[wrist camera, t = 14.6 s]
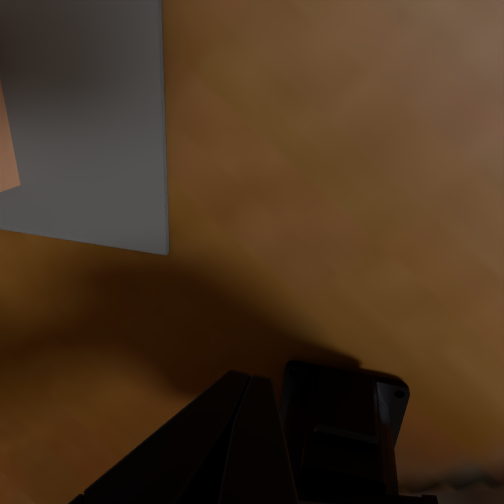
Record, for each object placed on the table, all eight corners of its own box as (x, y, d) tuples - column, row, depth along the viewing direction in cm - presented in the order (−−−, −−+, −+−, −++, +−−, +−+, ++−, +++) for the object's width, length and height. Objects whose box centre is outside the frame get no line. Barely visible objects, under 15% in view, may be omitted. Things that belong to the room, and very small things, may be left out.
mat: (169, 252, 21) (166, 255, 21) (-83, 212, 24) (-90, 214, 24) (157, -117, 15) (152, -122, 15) (-183, -111, 18) (-194, -115, 17)
